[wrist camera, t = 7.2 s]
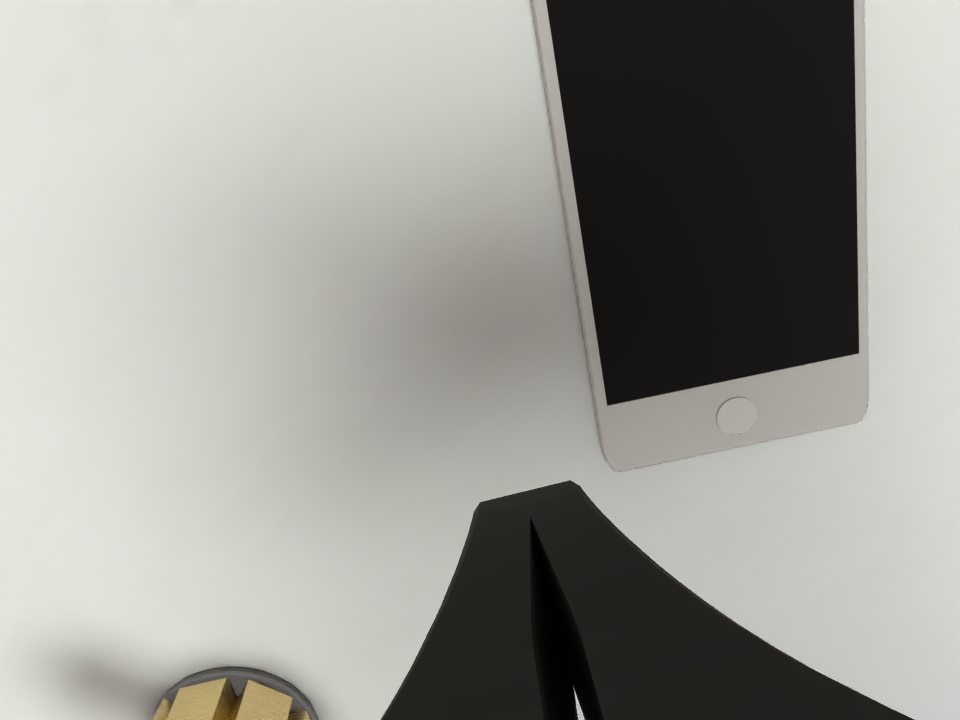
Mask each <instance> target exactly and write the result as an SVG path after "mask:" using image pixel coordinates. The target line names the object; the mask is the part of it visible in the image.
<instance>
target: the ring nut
mask: <svg viewBox="0 0 960 720" xmlns="http://www.w3.org/2000/svg"><path fill="white" fill-rule="evenodd" d="M291 702H292V697H290V696H287V695H285V694H283V693H280V692H278V691H275V690H273V689H270V688H268V687H266V686H263V685H261V684H258V683H256V682H254V681H251V680H248V681H247V683H246V684H245V686H244V687H243V689H242V690H241V692H240V694H239V695H238V697H237V698H236V697H235V695H234V693H233V691H232V688H231V686H230V684H229V682H228V680H227V678H223V679H218V680H214V681H209V682H205V683H201V684H196V685H192V686H188V687H183V688H180V689H179V691H178V693H177V696H176V698H175V701H174V703H173V702H170V701H168V700H165V699H163V701H162V702H161V704H160V706H159V707H158V709H157V711H156V712H155V714H154V716H153V717H152V719H151V720H310V718H309V716H308V713H307V711H302V712H297V713H293V714H289V711H290V706H291Z"/></svg>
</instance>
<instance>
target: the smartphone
mask: <svg viewBox="0 0 960 720" xmlns="http://www.w3.org/2000/svg"><path fill="white" fill-rule="evenodd" d="M530 1H531V7H532V13H533V20H534V26H535V32H536V39H537V45H538V51H539V58H540V64H541V70H542V77H543V83H544V89H545V96H546V102H547V108H548V115H549V121H550V127H551V134H552V140H553V146H554V153H555V159H556V165H557V172H558V178H559V184H560V191H561V197H562V203H563V210H564V216H565V222H566V229H567V235H568V241H569V248H570V254H571V260H572V267H573V273H574V279H575V286H576V292H577V298H578V305H579V311H580V317H581V324H582V330H583V336H584V343H585V349H586V355H587V362H588V368H589V374H590V381H591V387H592V393H593V400H594V406H595V412H596V419H597V425H598V431H599V438H600V444H601V448H602V452H603V455H604V457H605V459H606V461H607V463H608V465H609V466H610V468H611V469H612V470H614V471H616V472H622V471H627V470H632V469H636V468H641V467H646V466H651V465H656V464H661V463H665V462H670V461H675V460H680V459H685V458H690V457H694V456H699V455H704V454H709V453H714V452H718V451H723V450H728V449H733V448H738V447H743V446H747V445H752V444H757V443H762V442H767V441H772V440H776V439H781V438H786V437H791V436H796V435H801V434H805V433H810V432H815V431H820V430H825V429H829V428H834V427H839V426H844V425H849V424H854V423H858V422H859V421H861V420H862V419H863V417H864V416H865V414H866V410H867V407H868V398H869V387H868V288H867V190H866V92H865V0H530Z"/></svg>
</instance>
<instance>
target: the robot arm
mask: <svg viewBox="0 0 960 720" xmlns="http://www.w3.org/2000/svg"><path fill="white" fill-rule="evenodd" d="M573 686H574V687H573ZM574 689H575V692H576V695H577V698H578V701H579V704H580V706H581V709H582V712H583V715H584V718H585V720H914V719H912V718H910V717H908V716H905V715H903V714H901V713H899V712H897V711H895V710H893V709H890V708H888V707H886V706H884V705H883V704H881V703H879V702H877V701H875V700H873V699H871V698H869V697H867V696H865V695H863V694H861V693H859V692H857V691H855V690H853V689H851V688H849V687H847V686H845V685H843V684H841V683H839V682H837V681H835V680H833V679H831V678H829V677H827V676H825V675H823V674H821V673H819V672H817V671H815V670H813V669H811V668H810V667H808V666H806V665H804V664H803V663H801V662H799V661H798V660H796V659H794V658H792V657H791V656H789V655H787V654H785V653H784V652H782V651H780V650H779V649H777V648H775V647H773V646H772V645H770V644H769V643H767V642H765V641H764V640H762V639H761V638H759V637H758V636H756V635H754V634H753V633H751V632H750V631H748V630H746V629H745V628H743V627H742V626H740V625H739V624H737V623H736V622H734V621H733V620H731V619H730V618H728V617H727V616H725V615H724V614H722V613H721V612H719V611H718V610H717V609H715V608H714V607H712V606H711V605H710V604H708V603H707V602H705V601H704V600H703V599H701V598H700V597H699V596H697V595H696V594H695V593H693V592H692V591H691V590H689V589H688V588H687V587H686V586H684V585H683V584H682V583H680V582H679V581H678V580H676V579H675V578H674V577H673V576H671V575H670V574H669V573H668V572H666V571H665V570H664V569H663V568H662V567H660V566H659V565H658V564H657V563H656V562H654V561H653V560H652V559H651V558H650V557H649V556H648V555H646V554H645V553H644V552H643V551H642V550H641V549H640V548H639V547H637V546H636V545H635V544H634V543H633V542H632V541H631V540H629V539H628V538H627V537H626V536H625V535H624V534H623V533H622V532H621V531H620V530H619V529H618V528H617V527H616V526H615V525H614V524H613V523H612V522H611V521H610V520H609V519H608V518H607V517H606V516H605V515H604V514H603V513H602V512H601V511H600V510H599V509H598V508H597V507H596V505H595V504H594V503H593V502H592V501H591V500H590V499H589V497H588V496H587V495H586V494H585V492H584V491H583V490H582V488H581V487H580V486H579V485H577V484H576V483H574V482H572V481H571V480H570V481H566V482H562V483H558V484H553V485H549V486H545V487H541V488H537V489H533V490H529V491H525V492H521V493H517V494H512V495H508V496H504V497H500V498H496V499H492V500H488V501H484V502H480V503H479V505H478V506H477V508H476V509H475V511H474V514H473V518H472V522H471V526H470V529H469V533H468V536H467V539H466V542H465V545H464V548H463V551H462V554H461V557H460V560H459V562H458V565H457V568H456V570H455V573H454V575H453V578H452V580H451V583H450V585H449V588H448V590H447V592H446V595H445V597H444V600H443V602H442V605H441V607H440V609H439V612H438V614H437V616H436V618H435V620H434V622H433V624H432V626H431V628H430V630H429V632H428V634H427V636H426V638H425V640H424V642H423V645H422V647H421V649H420V651H419V653H418V655H417V657H416V659H415V661H414V663H413V665H412V667H411V668H410V670H409V672H408V674H407V676H406V678H405V679H404V681H403V683H402V685H401V687H400V688H399V690H398V692H397V694H396V695H395V697H394V699H393V700H392V702H391V704H390V706H389V707H388V709H387V710H386V712H385V714H384V715H383V717H382V718H381V720H578V716H577V709H576V701H575V694H574Z"/></svg>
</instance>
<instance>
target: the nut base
mask: <svg viewBox="0 0 960 720" xmlns="http://www.w3.org/2000/svg"><path fill="white" fill-rule="evenodd" d="M223 678H227V680H228V682H229V684H230V686H231V688H232V691H233V693H234V695H235V697H236V698H237V697H238V695H239V694H240V692H241V690H242V689H243V687H244V686H245V684H246V683H247V681H248V680H251V681H254V682H256V683H258V684H261V685H263V686H266V687H268V688H270V689H273V690H275V691H278V692H280V693H283V694H285V695H287V696H290V697H292V702H291V706H290V711H289V714H293V713H297V712H302V711H307V713H308V716H309V718H310V720H318V719H317V716H316V713H315V711H314V709H313V707H312V706H311V704H310V703H309V702H308V700H307V699H306V698H305V697H304V696H303V695H302V694H301V693H300V692H299V691H298V690H297V689H296V688H294V687H293V686H292V685H290V684H289V683H287V682H285V681H284V680H282V679H280V678H278V677H276V676H274V675H271V674H268V673H265V672H262V671H257V670H253V669H246V668H230V667H229V668H217V669H212V670H207V671H203V672H200V673H197V674H194V675H192V676H190V677H187V678H186V679H184V680H182V681H180V682H179V683H177V684H176V685H175V686H174V687H172V688H171V689H170V690H169V691H168V692H167V693H166V694H165V695H164V697H163V698H162V699H161V701H160V702H159V704H158V706H157V708H156V711H157V709H158V707H159V706H160V704H161V702H162V701H163V699H165V700H168V701H170V702H173V703H174V701H175V698H176V696H177V693H178V691H179V689H180V688H183V687H188V686H192V685H196V684H201V683H205V682H209V681H214V680H218V679H223ZM156 711H155V712H156ZM154 714H155V713H154ZM153 716H154V715H153Z"/></svg>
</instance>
